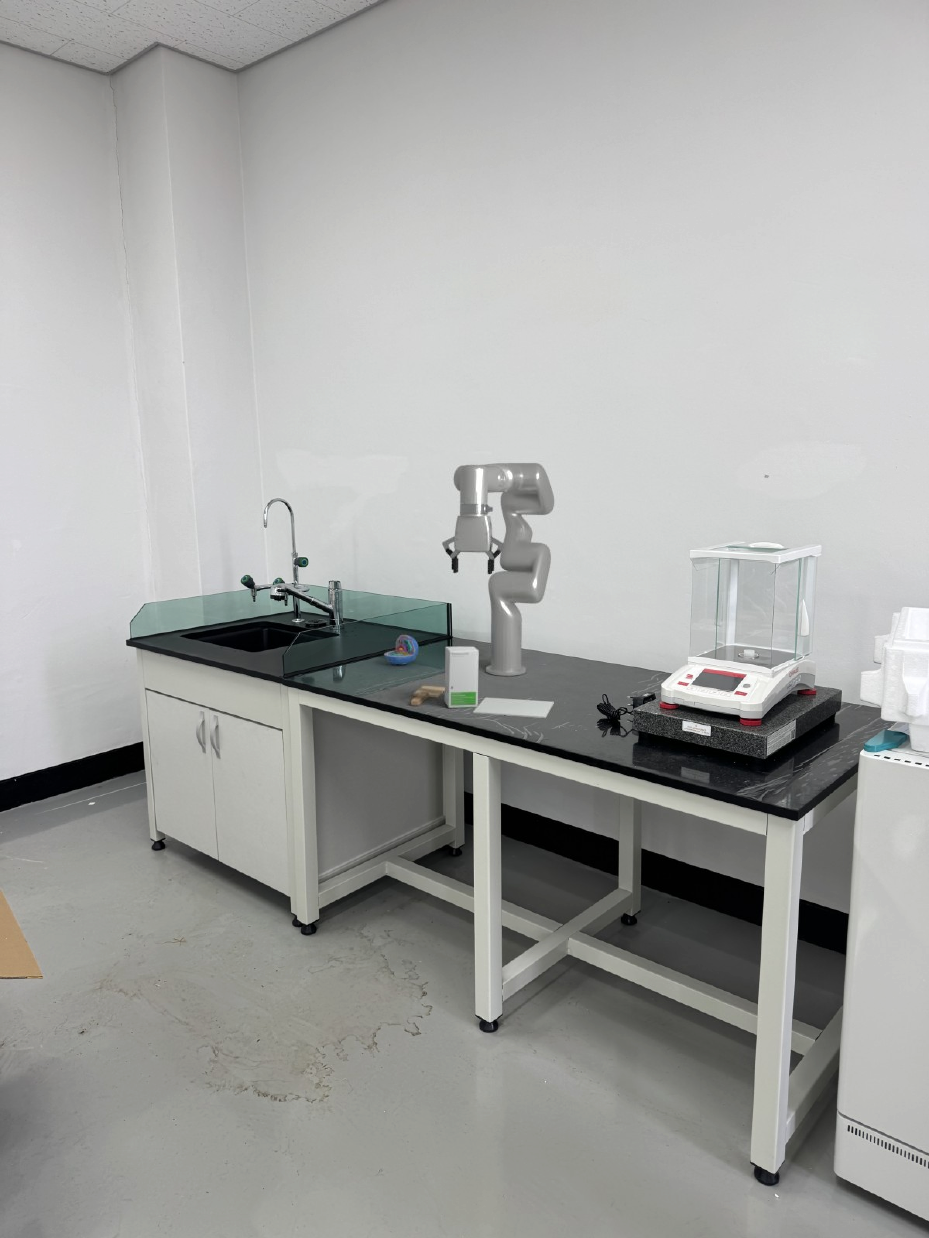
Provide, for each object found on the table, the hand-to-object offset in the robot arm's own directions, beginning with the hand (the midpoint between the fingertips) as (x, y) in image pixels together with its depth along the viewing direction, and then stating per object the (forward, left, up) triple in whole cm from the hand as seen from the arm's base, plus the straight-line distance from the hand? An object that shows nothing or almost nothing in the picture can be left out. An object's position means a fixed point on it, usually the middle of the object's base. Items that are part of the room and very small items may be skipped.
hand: (472, 573), depth 240 cm
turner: (+5, -12, -34) cm, 37 cm away
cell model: (-31, -31, -35) cm, 56 cm away
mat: (+12, +14, -34) cm, 39 cm away
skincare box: (+12, 0, -35) cm, 36 cm away
